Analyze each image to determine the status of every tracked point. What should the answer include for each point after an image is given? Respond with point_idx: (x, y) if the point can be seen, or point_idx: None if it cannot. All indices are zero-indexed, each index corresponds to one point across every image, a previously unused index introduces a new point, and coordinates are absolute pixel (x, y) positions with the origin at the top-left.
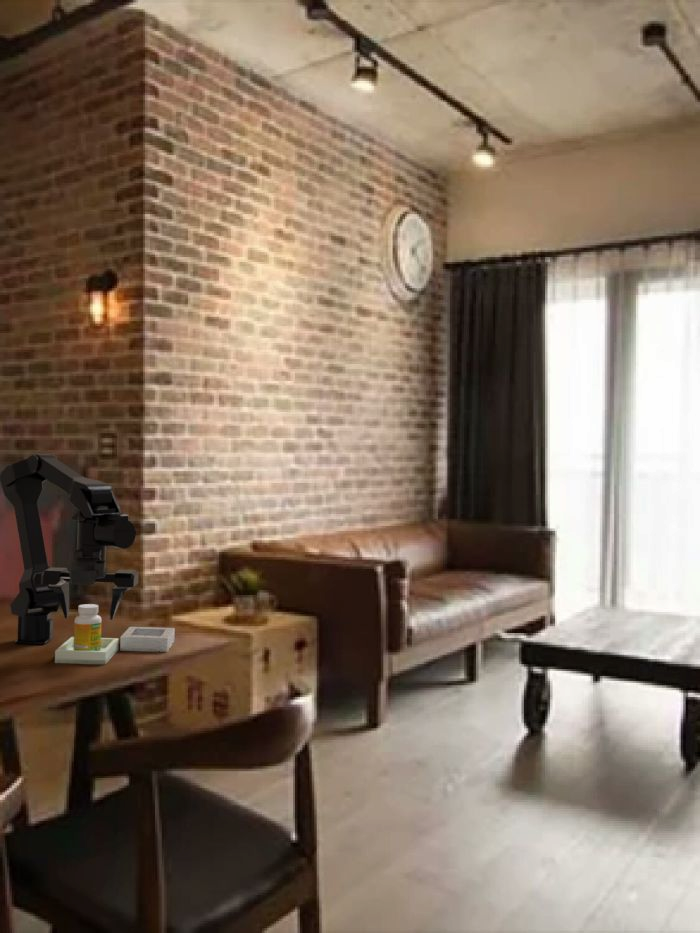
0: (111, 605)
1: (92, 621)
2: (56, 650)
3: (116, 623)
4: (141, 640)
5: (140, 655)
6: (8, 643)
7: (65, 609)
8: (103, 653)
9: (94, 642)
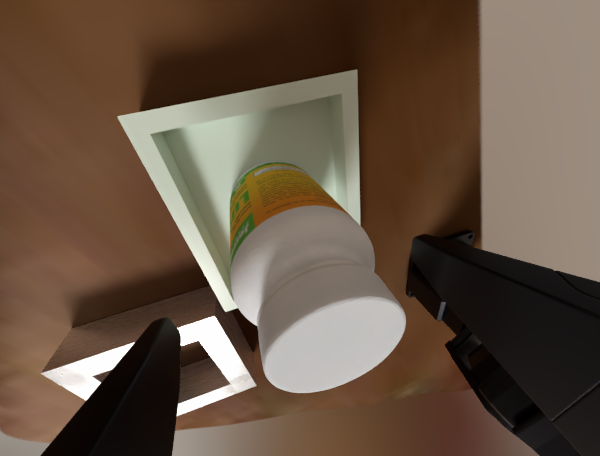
0: (94, 437)
1: (252, 242)
2: (353, 73)
3: (329, 397)
4: (144, 330)
5: (119, 270)
6: (480, 229)
7: (468, 257)
8: (132, 114)
9: (236, 199)
